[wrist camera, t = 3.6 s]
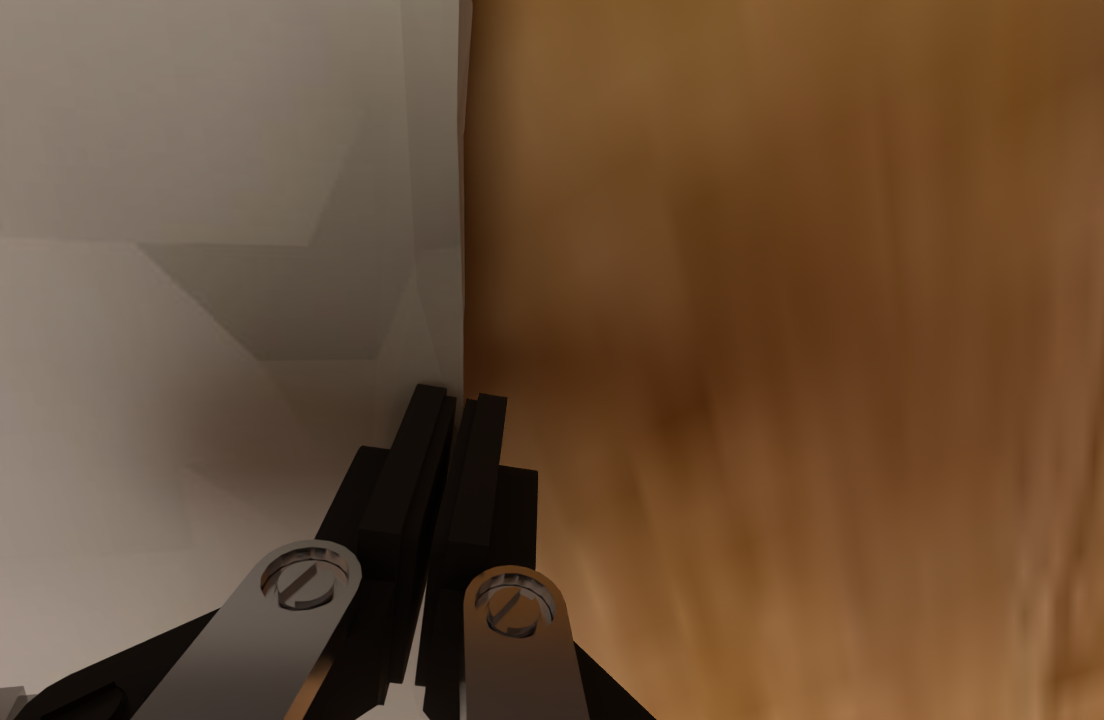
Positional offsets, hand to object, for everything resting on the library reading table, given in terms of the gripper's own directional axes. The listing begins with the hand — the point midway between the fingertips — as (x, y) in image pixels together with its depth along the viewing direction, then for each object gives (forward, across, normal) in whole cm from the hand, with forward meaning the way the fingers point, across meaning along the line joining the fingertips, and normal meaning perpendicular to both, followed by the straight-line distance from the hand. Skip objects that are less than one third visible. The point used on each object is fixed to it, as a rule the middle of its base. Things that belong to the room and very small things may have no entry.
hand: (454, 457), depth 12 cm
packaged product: (+3, 0, 0) cm, 3 cm away
